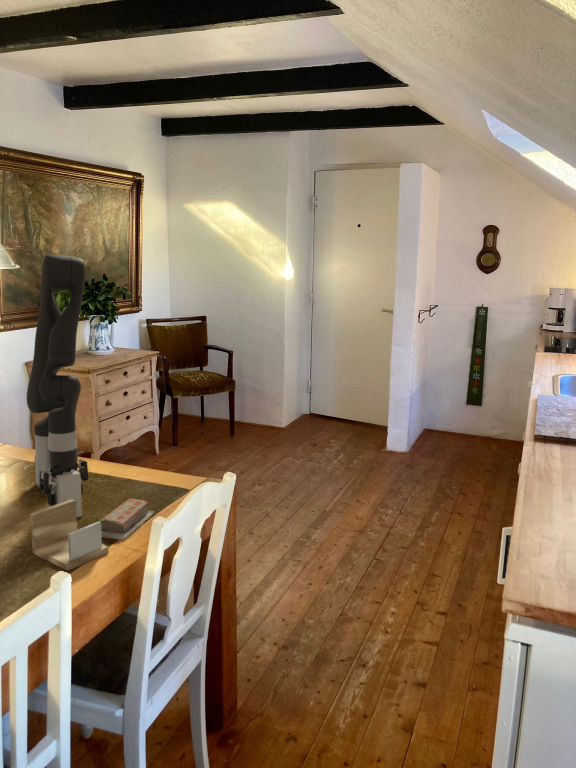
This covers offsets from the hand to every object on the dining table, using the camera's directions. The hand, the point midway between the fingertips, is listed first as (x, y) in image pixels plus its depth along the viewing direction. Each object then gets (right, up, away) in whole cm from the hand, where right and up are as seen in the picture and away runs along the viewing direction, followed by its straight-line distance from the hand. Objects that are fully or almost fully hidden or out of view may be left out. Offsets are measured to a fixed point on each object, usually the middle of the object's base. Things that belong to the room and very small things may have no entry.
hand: (65, 501), depth 182 cm
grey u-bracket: (+8, -9, -21) cm, 24 cm away
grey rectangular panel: (+13, -9, -24) cm, 29 cm away
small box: (0, -4, +1) cm, 4 cm away
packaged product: (+17, -6, -4) cm, 19 cm away
